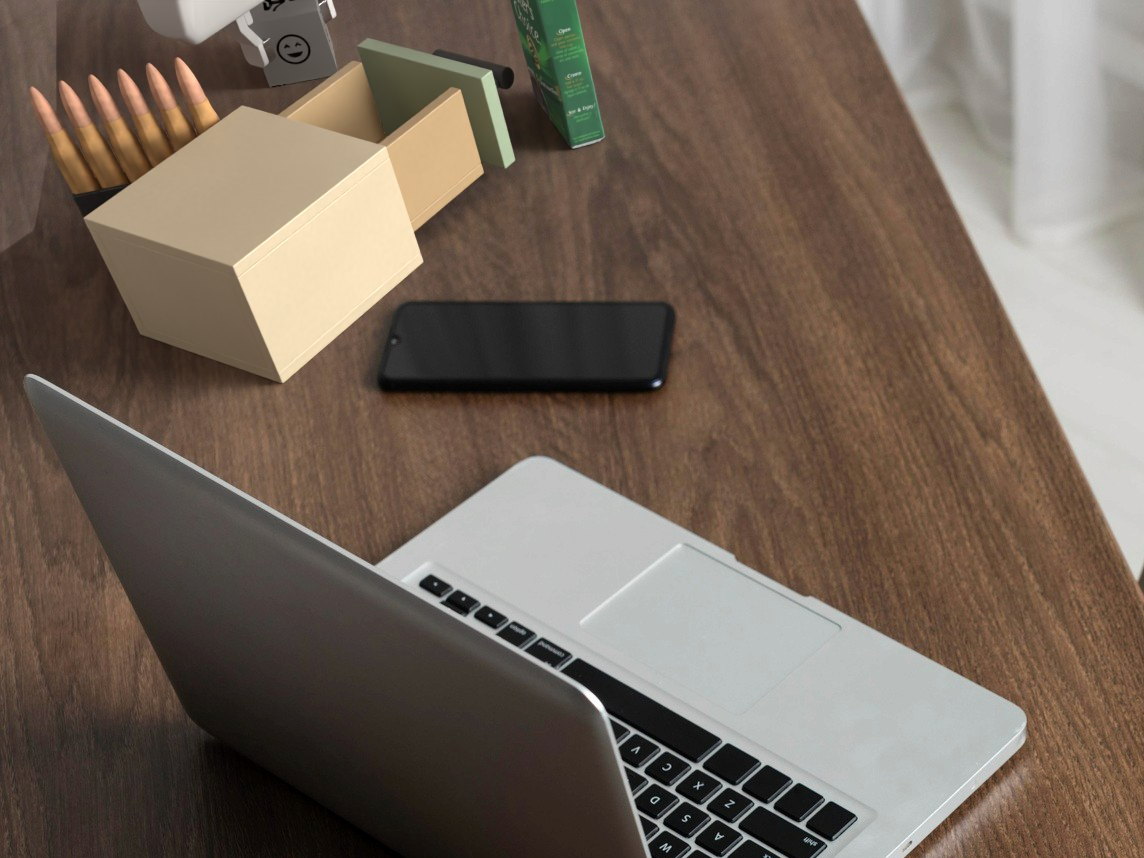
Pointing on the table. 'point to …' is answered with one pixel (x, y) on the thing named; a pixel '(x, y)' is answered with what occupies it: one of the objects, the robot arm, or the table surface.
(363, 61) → the drawer
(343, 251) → the cabinet
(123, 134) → the ammunition clip
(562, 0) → the coffee box
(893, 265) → the table surface
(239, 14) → the robot arm
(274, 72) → the dice cube
